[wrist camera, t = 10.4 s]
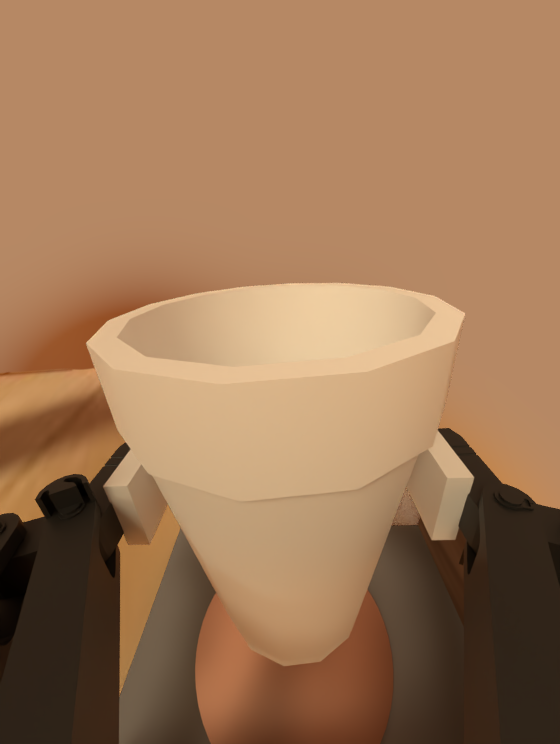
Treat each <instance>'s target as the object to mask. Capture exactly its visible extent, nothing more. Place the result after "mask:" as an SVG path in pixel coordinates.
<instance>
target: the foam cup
mask: <svg viewBox="0 0 560 744" xmlns="http://www.w3.org/2000/svg"><path fill="white" fill-rule="evenodd" d="M464 317H465V313H463V312H462V311H460V310H458V309H456V308H455V307H453V306H451V305H450V304H448V303H446V302H444V301H443V300H441V299H439V298H437V297H436V296H432V295H427V294H423V293H418V292H413V291H408V290H403V289H399V288H394V287H386V286H373V285H361V284H348V283H291V284H290V283H289V284H275V285H261V286H248V287H239V288H232V289H225V290H218V291H211V292H204V293H197V294H192V295H188V296H184V297H179V298H175V299H171V300H167V301H162V302H158V303H154V304H149V305H147V306H144V307H142V308H139V309H136V310H134V311H131V312H129V313H126V314H124V315H121V316H119V317H116V318H113V319H111V320H108V321H107V323H105V324H104V325H103V326H102V327H101V328H100V329H99V330H98V332H96V334H95V335H93V337H91V339H90V340H89V341H88V342H87V343H86V345H87V348H88V350H89V353H90V356H91V359H92V361H93V364H94V367H95V370H96V372H97V375H98V378H99V381H100V383H101V386H102V389H103V392H104V394H105V397H106V400H107V403H108V405H109V408H110V411H111V414H112V416H113V419H114V422H115V424H116V427H117V430H118V432H119V433H120V435H121V436H122V437H123V439H124V440H125V442H126V443H127V445H128V446H129V447H130V449H131V450H132V452H133V453H134V454H135V456H136V457H137V459H138V460H139V461H140V463H141V464H142V466H143V467H144V469H145V470H146V471H147V473H148V474H150V475H152V476H153V478H154V480H155V482H156V483H157V485H158V487H159V489H160V491H161V493H162V494H163V496H164V498H165V500H166V502H167V504H168V505H169V507H170V509H171V511H172V513H173V514H174V516H175V518H176V520H177V522H178V524H179V525H180V527H181V529H182V531H183V533H184V535H185V536H186V538H187V540H188V542H189V544H190V546H191V547H192V549H193V551H194V553H195V555H196V557H197V558H198V560H199V562H200V564H201V566H202V568H203V569H204V571H205V573H206V575H207V577H208V579H209V580H210V582H211V584H212V586H213V588H214V590H215V591H216V593H217V595H218V597H219V599H220V601H221V602H222V604H223V606H224V608H225V610H226V612H227V613H228V615H229V616H230V618H231V620H232V621H233V623H234V624H235V626H236V627H237V629H238V630H239V632H240V634H241V635H242V637H243V638H244V640H245V641H246V643H247V644H248V646H249V647H250V649H251V650H253V651H255V652H257V653H259V654H261V655H263V656H265V657H267V658H268V659H270V660H272V661H274V662H276V663H278V664H280V665H282V666H290V665H298V664H306V663H314V662H321V661H322V660H323V659H324V658H325V657H327V656H328V655H329V654H330V653H331V652H332V651H334V650H335V649H336V648H337V647H338V646H339V645H341V644H342V643H343V642H344V641H345V640H346V639H347V638H349V635H350V632H351V631H352V628H353V626H354V623H355V621H356V618H357V615H358V613H359V610H360V607H361V605H362V602H363V599H364V597H365V594H366V592H367V589H368V586H369V584H370V581H371V578H372V576H373V573H374V570H375V568H376V565H377V562H378V560H379V557H380V555H381V552H382V549H383V547H384V544H385V541H386V539H387V536H388V533H389V531H390V528H391V526H392V523H393V520H394V518H395V515H396V512H397V510H398V507H399V504H400V502H401V499H402V497H403V494H404V491H405V489H406V486H407V483H408V481H409V478H410V475H411V473H412V470H413V468H414V465H415V462H416V460H417V457H418V455H419V454H420V453H422V452H424V451H425V450H427V449H429V448H431V447H432V446H433V443H434V440H435V437H436V434H437V430H438V427H439V424H440V420H441V417H442V414H443V411H444V407H445V404H446V400H447V396H448V391H449V387H450V382H451V378H452V372H453V368H454V363H455V359H456V354H457V350H458V345H459V341H460V336H461V331H462V327H463V322H464Z"/></svg>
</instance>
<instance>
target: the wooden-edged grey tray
mask: <svg viewBox="0 0 560 744" xmlns="http://www.w3.org/2000/svg"><path fill="white" fill-rule="evenodd" d="M465 543H466V538H465V537H464V535H463V533H462V532H461V530H460V528H459V529H458V533H457V536H456V539H455V540H431V538H430V536H429V534H428V532H427V529H426V527H425V525H424V523H423V521H422V519H421V517H420V520H419V524H418V525H409V526H391V528H390V531H389V533H388V536H387V539H386V541H385V544H384V547H383V549H382V552H381V555H380V557H379V560H378V562H377V565H376V568H375V570H374V573H373V576H372V578H371V581H370V584H369V586H368V589H367V592H366V594H365V597H364V599H363V602H362V605H361V607H360V610H359V613H358V615H357V618H356V621H355V623H354V626H353V628H352V631H351V632H350V635H349V638H347V639H346V640H345V641H344V642H343V643H342V644H341V645H339V646H338V647H337V648H336V649H335V650H334V651H332V652H331V653H330V654H329V655H328V656H327V657H325V658H324V659H323V660H322V661H321V662H314V663H306V664H298V665H290V666H282V665H280V664H278V663H276V662H274V661H272V660H270V659H268V658H267V657H265V656H263V655H261V654H259V653H257V652H255V651H253V650H251V649H250V647H249V646H248V644H247V643H246V641H245V640H244V638H243V637H242V635H241V634H240V632H239V630H238V629H237V627H236V626H235V624H234V623H233V621H232V620H231V618H230V616H229V615H228V613H227V612H226V610H225V608H224V606H223V604H222V602H221V601H220V599H219V597H218V595H217V593H216V591H215V590H214V588H213V586H212V584H211V582H210V580H209V579H208V577H207V575H206V573H205V571H204V569H203V568H202V566H201V564H200V562H199V560H198V558H197V557H196V555H195V553H194V551H193V549H192V547H191V546H190V544H189V542H188V540H187V538H186V536H185V535H184V533H183V531H182V529H180V532H179V535H178V537H177V540H176V543H175V546H174V548H173V551H172V554H171V557H170V559H169V562H168V565H167V568H166V570H165V573H164V576H163V579H162V581H161V584H160V587H159V590H158V592H157V595H156V598H155V601H154V603H153V606H152V609H151V612H150V614H149V617H148V620H147V623H146V625H145V628H144V631H143V634H142V636H141V639H140V642H139V645H138V647H137V650H136V653H135V656H134V658H133V661H132V664H131V667H130V669H129V672H128V675H127V678H126V680H125V683H124V686H123V689H122V691H121V694H120V697H119V744H464V563H463V565H461V564H459V561H460V558H461V555H462V552H463V549H464V546H465Z"/></svg>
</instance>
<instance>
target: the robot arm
mask: <svg viewBox="0 0 560 744" xmlns="http://www.w3.org/2000/svg"><path fill="white" fill-rule="evenodd" d="M406 487H407V489H408V491H409V494H410V496H411V498H412V500H413V502H414V504H415V506H416V508H417V510H418V513H419V515H420V517H421V519H422V521H423V523H424V525H425V527H426V529H427V532H428V534H429V536H430V538H431V540H455V539H456V536H457V533H458V529H459V528H460V530H461V532H462V533H463V535H464V537H465V538H466V543H465V546H464V549H463V552H462V555H461V558H460V561H459V564H461V565H463V563H464V744H560V509H556V508H551V507H546V506H542V505H538V504H536V503H535V502H534V501H533V500H532V499H531V498H530V497H529V496H528V495H527V494H525V493H524V492H522V491H520V490H519V489H517V488H514V487H512V486H509V485H506V484H502V483H501V481H500V480H499V479H498V478H497V477H496V476H495V475H494V473H493V472H492V471H491V470H490V469H489V468H488V467H487V465H486V464H485V463H484V462H483V461H482V460H481V458H480V457H479V456H478V455H476V453H475V452H474V450H473V449H472V448H471V447H469V445H468V444H467V442H466V441H465V440H464V439H463V438H462V437H461V436H460V435H459V434H457V433H455V432H454V431H452V430H451V429H449V428H446V429H445V428H443V429H438V430H437V434H436V437H435V440H434V443H433V446H432V447H431V448H429V449H427V450H425V451H424V452H422V453H420V454H419V455H418V457H417V460H416V462H415V465H414V468H413V470H412V473H411V475H410V478H409V481H408V483H407V486H406ZM35 500H36V502H37V504H38V505H39V507H40V509H41V511H42V512H43V514H44V516H45V517H42V518H38V519H34V520H31V521H27V522H22V521H21V519H20V518H19V516H18V515H16V514H14V513H7V514H2V515H0V744H119V658H120V551H119V548H118V545H117V544H118V543H119V541H120V539H121V537H122V535H123V534H124V536H125V538H126V541H127V543H128V545H139V544H150V543H151V540H152V538H153V536H154V534H155V531H156V529H157V527H158V525H159V522H160V520H161V518H162V516H163V514H164V511H165V509H166V507H167V505H168V504H167V502H166V500H165V498H164V496H163V494H162V493H161V491H160V489H159V487H158V485H157V483H156V482H155V480H154V478H153V476H152V475H150V474H148V473H147V471H146V470H145V469H144V467H143V466H142V464H141V463H140V461H139V460H138V459H137V457H136V456H135V454H134V453H133V452H132V450H131V449H130V447H129V446H128V445H127V443H124V444H123V445H121V446H120V447H119V448H118V449H117V450H116V451H115V453H114V454H113V455H112V456H111V459H109V460H108V461H107V463H106V464H105V467H103V468H102V469H101V470H100V471H99V473H98V474H97V475H96V476H95V478H94V479H93V480H92V481H91V483H90V484H89V482H88V480H87V478H86V477H85V476H83V475H80V474H73V475H68V476H65V477H62V478H60V479H57V480H55V481H54V482H52V483H50V484H49V485H47V486H46V487H45V488H44V489H43V490H42V491H41V492H39V494H38V495H37V497H36V499H35Z"/></svg>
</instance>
